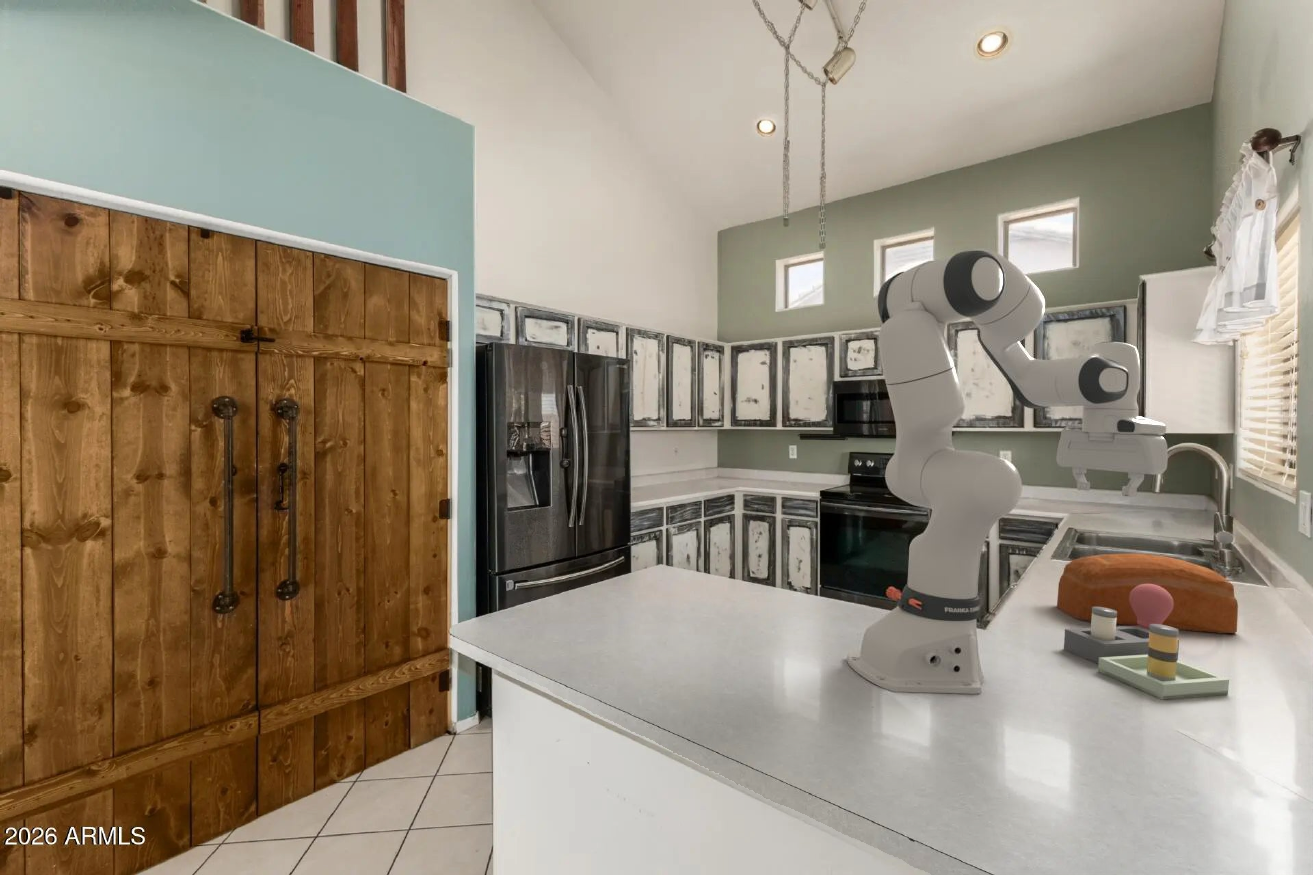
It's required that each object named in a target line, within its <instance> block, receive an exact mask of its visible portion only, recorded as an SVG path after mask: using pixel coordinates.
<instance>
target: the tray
mask: <svg viewBox="0 0 1313 875" xmlns="http://www.w3.org/2000/svg"><path fill="white" fill-rule="evenodd" d="M1147 661H1148V654H1147V655H1131V656H1116V657H1100V658H1099V664H1098V663H1097V666H1098V667H1097V672H1099V673H1101V674H1104V675H1106V676H1108V677H1110V678H1112V679H1114V680H1117V681H1119V682H1122V683H1124V684H1126V685H1128V686H1131V687H1133V688H1135V689H1137V690H1140V691H1142V692H1144V693H1147V694H1149V695H1151V696H1153V697H1154V698H1158V699H1160V700H1162V701H1167V699H1168V700H1178V699H1187V698H1188V699H1189V698H1191V699H1192V698H1201V697H1212V696H1213V697H1214V696H1224V695H1229V686H1230V685H1229V684H1230V679H1229V678H1226V677H1223V676H1221V675H1217V674H1216V673H1215V674H1214V673H1213V672H1210V671H1207V670H1204V669H1201V668H1199V667H1196V666H1193V665H1190V664H1188V663H1185V662H1182V661H1180V660H1179V659H1178V660H1177V665H1176V680H1175V681H1164V682H1162V681H1160V680H1157V679H1155V678H1152V677H1150V676H1148V675H1147Z"/></svg>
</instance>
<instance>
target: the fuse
mask: <svg viewBox="0 0 1313 875" xmlns="http://www.w3.org/2000/svg"><path fill="white" fill-rule="evenodd" d="M1116 620H1117V611H1115V610H1112V609H1109V608H1104V607H1092V620H1091V623H1090V624H1091V625H1090V628H1091V634H1090V635H1091V636H1094V637H1096V638H1099V639H1102V640H1104V641H1110V640H1115V634H1116V627H1117V624H1116Z"/></svg>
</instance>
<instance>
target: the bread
mask: <svg viewBox="0 0 1313 875" xmlns="http://www.w3.org/2000/svg"><path fill="white" fill-rule="evenodd" d="M1062 573H1063V574H1062V575H1061V576H1060V578H1059V581H1058V588H1057V599H1056V600H1057V601H1056V607H1057V608H1058V609H1059V610H1060V611H1062V612H1063V613H1065V614H1067V615H1069V616H1071V617H1074V618H1075V619H1078V620H1080V621H1085V622H1091V620H1092V607H1104V608H1109V609H1112V610H1115V611H1117V620H1116V625H1122V626H1138V625H1139V624H1138V623H1137V620H1138V619H1137V616H1136V614H1135V613H1134V611H1133V609H1132V606H1131V604H1130V601H1129V596H1130V593H1131V591H1132V590H1133V589H1134V588H1135V587H1136V586H1138V585H1141V584H1154V585H1158V586H1160V587H1162V588H1164V589H1165V590H1166V591H1167V592H1168V593H1169V594H1170V595H1171V597H1172V599H1173V602H1174V606H1173V610H1172V612H1171V613H1170V614H1169V616H1168V617H1167V618H1166V619H1165V620H1164V622H1163V623H1162V625H1166V626H1170V627H1173V628H1176V629H1178V630H1179V631H1180V630H1181V631H1191V630H1192V631H1193V632H1202V631H1208V632H1207V633H1213V632H1220V633H1219V634H1225V633H1234V634H1236V633H1237V632H1238V617H1239V616H1238V615H1239V613H1238V610H1239V605H1238V600H1237V598H1236V596H1235V587H1234V586H1235V585H1234V584H1233V583H1231V582H1230V581H1229V580H1228V579H1226V578H1225V576H1222V575H1221V574H1220V573H1218V572H1216V571H1214V570H1212V569H1210V568H1208V567H1206V566H1202V565H1198V564H1195V563H1191V562H1189V561H1185V560H1183V559H1179V558H1178V559H1177V558H1174V557H1170V556H1164V555H1156V554H1145V553H1138V552H1137V553H1135V552H1133V553H1111V554H1109V553H1108V554H1098V555H1090V556H1084V557H1083V556H1081V557H1079V558H1076V559H1073V560H1072V561H1070V562H1069V563H1067V564H1065V567H1064V568H1063V572H1062ZM1192 631H1191V632H1192Z"/></svg>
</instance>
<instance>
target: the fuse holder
mask: <svg viewBox="0 0 1313 875" xmlns="http://www.w3.org/2000/svg"><path fill="white" fill-rule="evenodd" d="M1090 634H1091V627H1082V628H1081V627H1080V628H1079V627H1077V628H1065V629H1064V639H1063V640H1064V642H1063V644H1064V645H1063V650H1065V651H1067V652H1070V653H1072V654H1075V655H1077V656H1078V657H1079V656H1080V657H1082V658H1083V659H1087V660H1089V661H1091V662H1093V663H1096V664H1097V665H1098V664H1099V658H1100V657H1116V656H1131V655H1147V654H1148V645H1149V630H1148V629H1145V628H1142V627H1139V626H1135V625H1119V626H1117V625H1116V634H1115V640H1110V641H1104V640H1102V639H1099V638H1096V637H1094V636H1091V635H1090ZM1179 647H1180V639H1178V649H1177V660H1178V661H1179V649H1180V648H1179Z"/></svg>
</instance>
